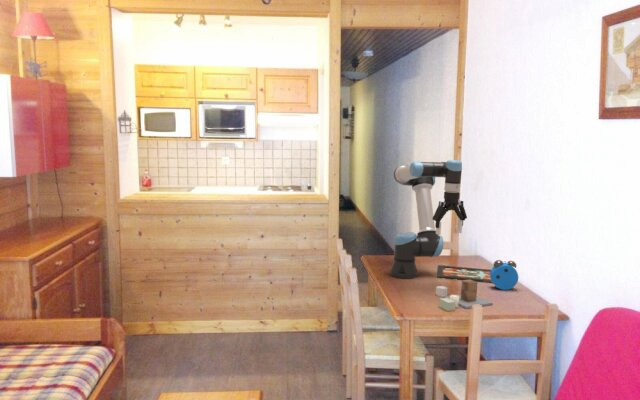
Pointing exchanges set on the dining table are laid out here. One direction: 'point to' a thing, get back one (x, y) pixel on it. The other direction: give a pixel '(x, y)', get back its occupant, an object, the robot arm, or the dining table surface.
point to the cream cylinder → (455, 300)
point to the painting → (464, 273)
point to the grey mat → (469, 304)
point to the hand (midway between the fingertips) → (448, 233)
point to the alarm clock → (504, 275)
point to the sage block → (447, 304)
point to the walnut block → (468, 290)
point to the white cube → (441, 291)
